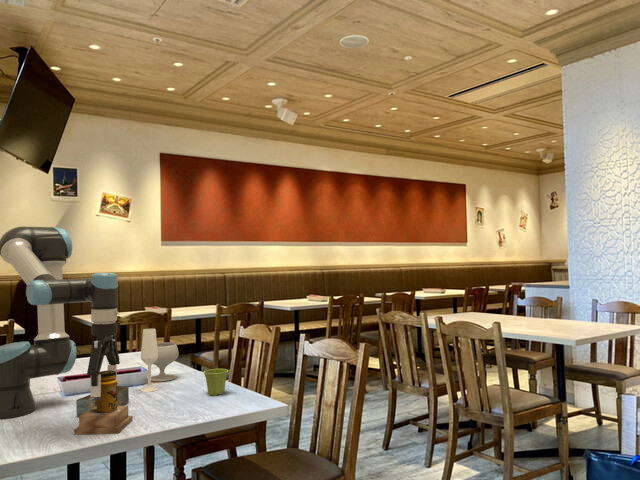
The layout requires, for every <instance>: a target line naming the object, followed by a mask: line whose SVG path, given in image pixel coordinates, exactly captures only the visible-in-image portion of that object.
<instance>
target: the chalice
mask: <svg viewBox="0 0 640 480" xmlns="http://www.w3.org/2000/svg"><path fill="white" fill-rule="evenodd" d="M157 349H158V358H157V360H156V361H155V362H154V363H153V364H152V365H154V366H156V367H157V368H158V370H159V373H158V375H151V382H167V381H172V380H175V379H177V375H175V374H167V373H165V369H166V368H167V367H168V366H169V365H170V364H172V363H174V362H175V361H176V360H177V359H178V358H179V353H180V352H179V348H178V345H177V344H176V342H157Z"/></svg>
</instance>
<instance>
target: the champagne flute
mask: <svg viewBox="0 0 640 480" xmlns="http://www.w3.org/2000/svg"><path fill="white" fill-rule="evenodd" d="M141 337H142V340H141V348H140V360H141V361H142V362H143V363H144V364H145V365H146V366H147V385H146V386H144V387H143V388H142V389H140V391H141V392H146V393H149V392H155V391H158V390H159V388H158V387H156V386H154V385H152V381H151V377H152V365H154V364H153V363H154V362H155V361H156V360H157V358H158V349H157V343H158V341H157V330H156V328H143V329H142V336H141Z"/></svg>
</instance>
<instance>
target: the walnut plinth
mask: <svg viewBox="0 0 640 480" xmlns="http://www.w3.org/2000/svg"><path fill="white" fill-rule="evenodd" d="M117 408H118V409H119V410H120V412H115V413H108V414H100V415H94V416H91V415H90V413H89V412H88V411H86V412H85V413H84V414H82V415H81V416H79V417H78V426H77V427H76V428H75V429H74V430H73V431H74V432H73V433H74V434H73V435H76V436H77V435H109V434H111V435H112V434H120V433H121V432H122V431H123V430H124V429H125V428H126V427H127V426H128V425H129V424H130V423H132V422H133V419H134V418H133V417H134V416H133V415H129V405H122V406H117ZM91 409H97V406H94V407H92V408H91Z"/></svg>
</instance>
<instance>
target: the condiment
mask: <svg viewBox="0 0 640 480" xmlns="http://www.w3.org/2000/svg"><path fill="white" fill-rule="evenodd" d="M99 374H101V396H100V397H97V409H89V410H88V412H89V413H90V415H91V416H94V415H100V414H108V413H115V412H120V410H119V409H118V408H117V406H118V405H117V403H118V390H117V387H118V386H119V385H118V384H119V382H118V379H116V372H115V371H107V370H102V371H100V373H99Z"/></svg>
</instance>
